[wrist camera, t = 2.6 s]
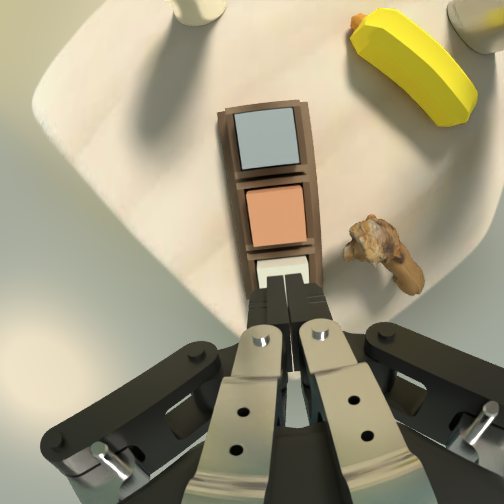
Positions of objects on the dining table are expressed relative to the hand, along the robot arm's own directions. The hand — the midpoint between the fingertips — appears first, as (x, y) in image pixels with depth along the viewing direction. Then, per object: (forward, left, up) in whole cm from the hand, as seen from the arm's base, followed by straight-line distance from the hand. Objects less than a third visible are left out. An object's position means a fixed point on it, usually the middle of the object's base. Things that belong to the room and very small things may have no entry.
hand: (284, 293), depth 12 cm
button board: (0, 0, -19) cm, 19 cm away
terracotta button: (0, 0, -16) cm, 16 cm away
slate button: (0, -7, -16) cm, 17 cm away
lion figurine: (-12, +6, -19) cm, 23 cm away
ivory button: (0, +7, -16) cm, 17 cm away
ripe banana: (-18, -15, -19) cm, 30 cm away
